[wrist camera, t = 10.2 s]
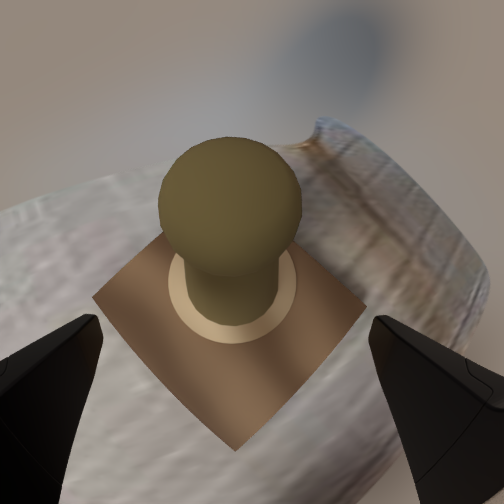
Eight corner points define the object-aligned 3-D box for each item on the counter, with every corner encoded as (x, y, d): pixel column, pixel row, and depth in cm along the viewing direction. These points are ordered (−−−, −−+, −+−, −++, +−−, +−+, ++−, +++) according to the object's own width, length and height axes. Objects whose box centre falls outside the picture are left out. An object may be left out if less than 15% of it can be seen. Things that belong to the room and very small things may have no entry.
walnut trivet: (235, 445, 17) (235, 452, 15) (100, 302, 20) (90, 296, 18) (359, 311, 21) (368, 305, 19) (223, 192, 24) (223, 179, 22)
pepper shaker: (167, 274, 19) (105, 172, 9) (237, 221, 21) (240, 94, 11) (227, 345, 18) (214, 312, 8) (297, 284, 19) (360, 189, 9)
